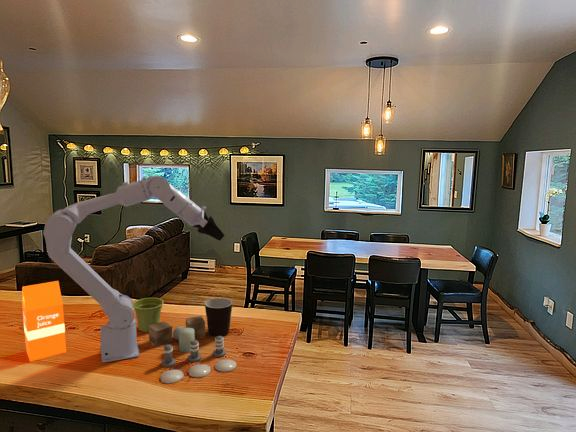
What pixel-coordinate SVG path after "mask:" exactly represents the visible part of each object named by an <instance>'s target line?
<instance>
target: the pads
mask: <svg viewBox="0 0 576 432" xmlns="http://www.w3.org/2000/svg"><path fill="white" fill-rule="evenodd" d="M214 368H215V370H216V371H218V372H222V373H227V372H232V371H233V370H235V369H236V368H237V362H236V361H234V360H233V359H230V358H229V359H221V360H219V361H217V362H216V363H215V366H214ZM210 373H211V367H210V365H207V364H204V363H203V364H195V365H193V366H191V367H190V368H189V369H188V375H189V376H190V377H192V378H198V379H199V378H204V377H207V376H208V375H209V374H210ZM183 378H184V372H183V371H182V370H180V369H170V370H169V369H168V370H166V371H164V372H163V373H162V374H160V377H159V379H160V381H161V382H162V383H164V384H175V383H177V382H179V381H181V380H183Z"/></svg>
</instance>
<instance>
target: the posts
mask: <svg viewBox="0 0 576 432" xmlns="http://www.w3.org/2000/svg"><path fill="white" fill-rule="evenodd" d="M224 337H225V336H224ZM224 337H222V336H217V337H214V348H215V349H214V350H213V351H212V355H213V357H215V358H223V357H225V356H226V354H227V351H226V349H224V347H225V346H224V343H225V342H224V340H225V339H224ZM163 346H164V347H163V350H162V351H163V355H164V356H163V357H164V358H163V359H162V360H161V367H163V368H170V367H174V366H175V365H176V358H173V351H174V350H173V349H174V348H173V345H172V344H164V345H163ZM199 346H200V344H199V340H197V339H195V340H193V341H191V343H190V351H191V352H190V354H189V355H188V356H187V361H188V362H190V363H196V362H199V361H201V360H202V355H201V354H200V353H199V350H200V347H199Z"/></svg>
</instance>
